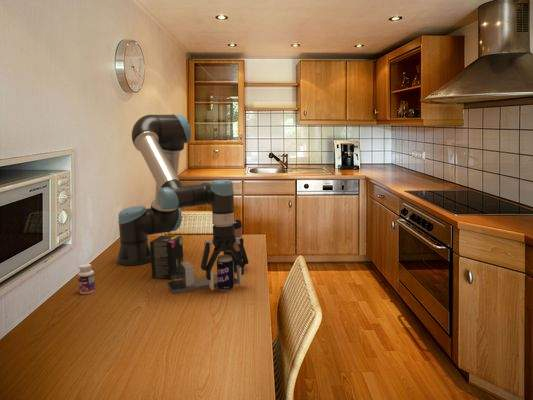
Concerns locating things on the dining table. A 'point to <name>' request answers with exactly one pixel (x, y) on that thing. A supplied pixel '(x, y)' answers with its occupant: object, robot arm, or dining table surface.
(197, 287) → the vise base
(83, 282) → the pill bottle
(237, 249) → the travel mug
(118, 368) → the dining table surface
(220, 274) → the beverage can
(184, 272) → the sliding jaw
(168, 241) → the tampon box
